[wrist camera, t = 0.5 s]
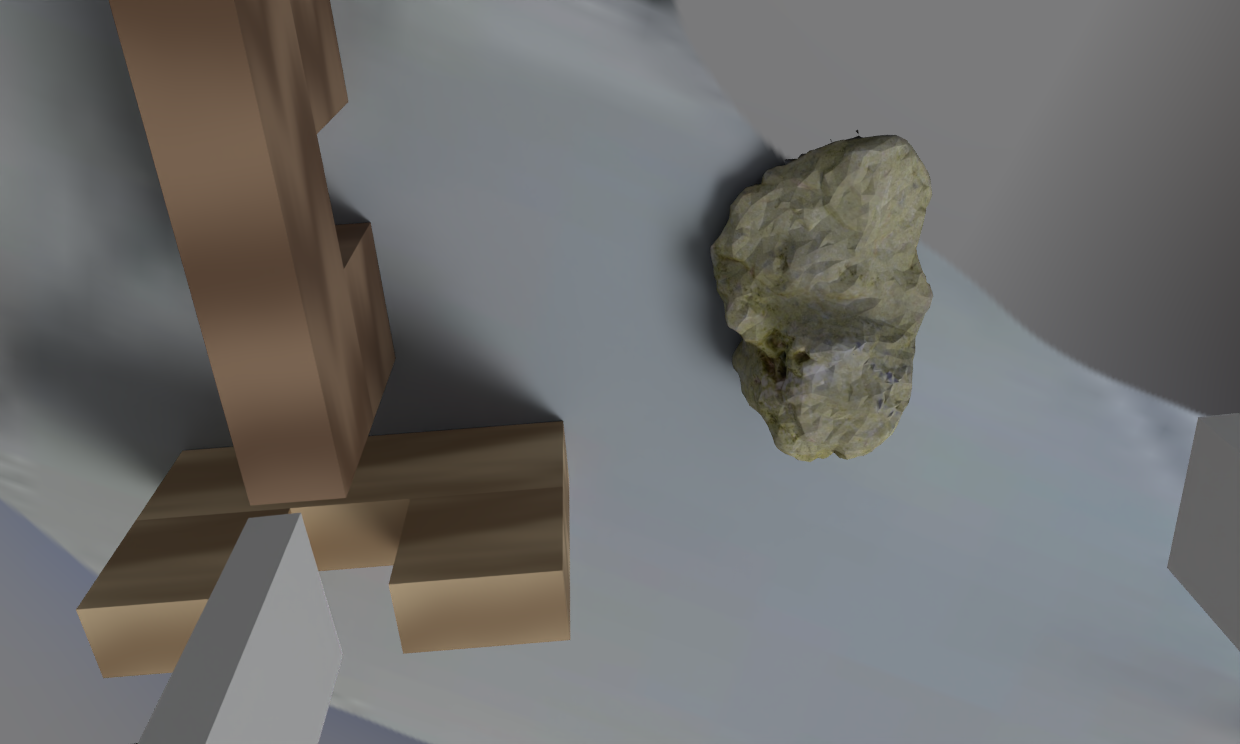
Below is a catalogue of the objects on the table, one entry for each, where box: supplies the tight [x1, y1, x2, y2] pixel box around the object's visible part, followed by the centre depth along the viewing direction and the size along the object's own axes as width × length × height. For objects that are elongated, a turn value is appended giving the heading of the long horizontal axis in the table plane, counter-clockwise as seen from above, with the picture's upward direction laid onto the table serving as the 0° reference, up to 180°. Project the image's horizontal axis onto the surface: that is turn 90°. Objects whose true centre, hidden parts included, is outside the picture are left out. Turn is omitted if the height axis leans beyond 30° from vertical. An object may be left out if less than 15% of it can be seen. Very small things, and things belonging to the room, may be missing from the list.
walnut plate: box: [109, 0, 396, 505], centre depth 31 cm, size 16×3×10 cm, turn 4°
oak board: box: [76, 421, 570, 678], centre depth 37 cm, size 3×16×10 cm, turn 94°
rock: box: [710, 130, 933, 462], centre depth 37 cm, size 11×6×10 cm
